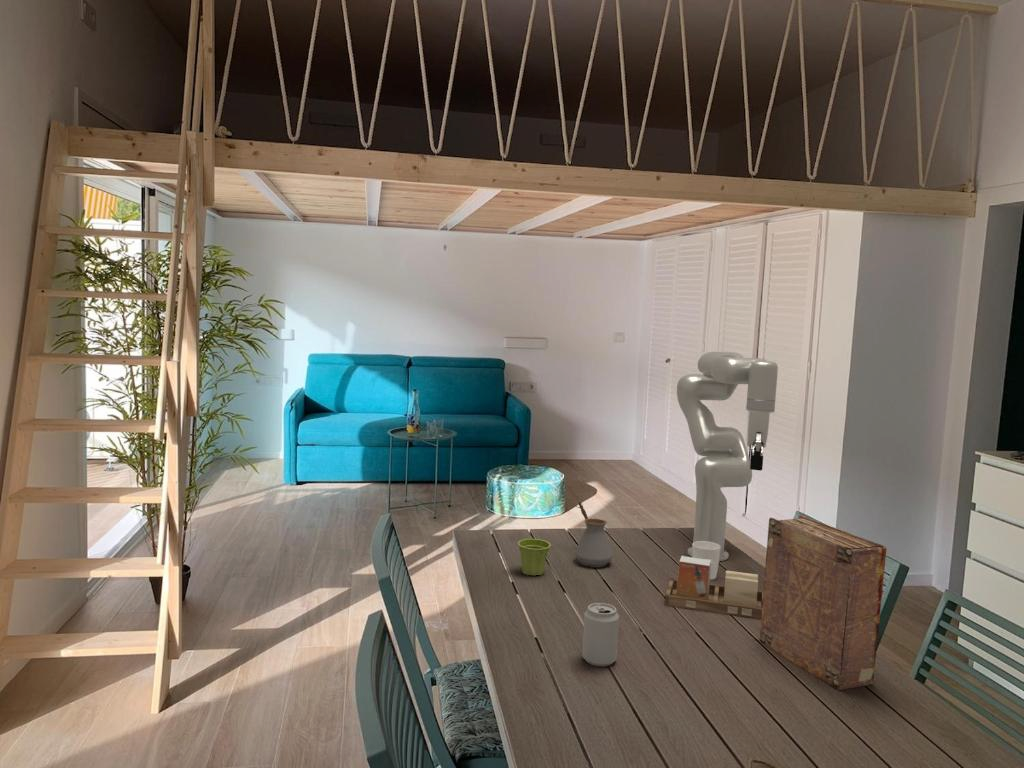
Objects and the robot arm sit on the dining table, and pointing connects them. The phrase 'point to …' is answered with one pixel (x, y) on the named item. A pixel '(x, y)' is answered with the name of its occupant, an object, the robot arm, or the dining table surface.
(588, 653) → the can
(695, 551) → the white cup
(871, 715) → the dining table surface
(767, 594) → the book
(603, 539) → the coffee pot
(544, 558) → the plant pot
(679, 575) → the small box
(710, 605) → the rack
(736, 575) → the beech block
